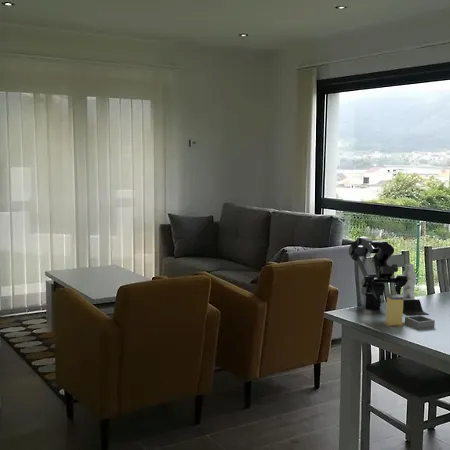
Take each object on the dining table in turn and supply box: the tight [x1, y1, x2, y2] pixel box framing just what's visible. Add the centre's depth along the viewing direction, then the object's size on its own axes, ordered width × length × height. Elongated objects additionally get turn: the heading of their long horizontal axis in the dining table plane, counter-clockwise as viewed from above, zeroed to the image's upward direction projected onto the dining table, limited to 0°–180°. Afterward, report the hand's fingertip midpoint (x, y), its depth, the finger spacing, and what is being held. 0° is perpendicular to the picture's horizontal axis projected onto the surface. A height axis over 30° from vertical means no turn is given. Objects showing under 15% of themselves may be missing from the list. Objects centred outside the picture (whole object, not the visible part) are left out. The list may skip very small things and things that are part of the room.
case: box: [404, 315, 436, 330], centre depth 249 cm, size 17×8×4 cm, turn 23°
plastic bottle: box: [401, 263, 417, 300], centre depth 275 cm, size 6×7×20 cm
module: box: [385, 293, 404, 325], centre depth 246 cm, size 5×5×12 cm
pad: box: [383, 320, 405, 328], centre depth 246 cm, size 8×8×1 cm
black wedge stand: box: [403, 298, 430, 317], centre depth 265 cm, size 12×7×10 cm
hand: (388, 298), depth 254 cm, fingers open, 9 cm apart
